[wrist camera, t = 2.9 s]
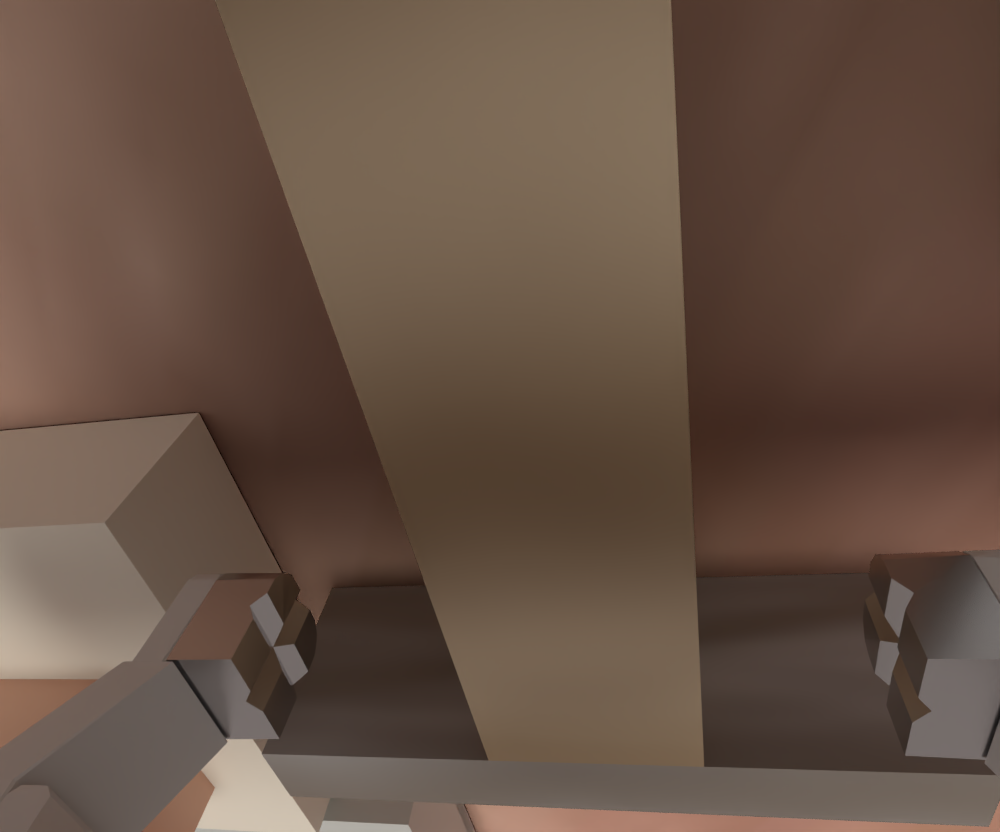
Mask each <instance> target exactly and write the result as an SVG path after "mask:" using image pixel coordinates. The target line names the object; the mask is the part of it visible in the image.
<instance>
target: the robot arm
mask: <svg viewBox="0 0 1000 832" xmlns="http://www.w3.org/2000/svg"><path fill="white" fill-rule="evenodd" d="M868 576H869V579H870V581H871V584H872V586H873V589H874V591H875V592H874V593H873V594H871V595H870V596H869V597H868V598H867V599H865V602H864V612H863V627H864V639H865V643H866V647H867V651H868V655H869V658H870V661H871V664H872V667H873V670H874V673H875V674H876V675H877V676H878V677H880V678H881V679H882V680H883V681H884V682H886V683H887V684H888V685H889V686H890V687H889V693H888V698H887V704H886V706H887V709H888V711H889V714H890V717H891V719H892V722H893V725H894V727H895V730H896V733H897V735H898V738H899V741H900V744H901V746H902V749H903V752H904V754H905V756H922V757H941V758H960V759H980V760H985V763H984V764H985V765H987V766H988V767H989V768H990V769H991V770H992V771H993V772H994V773H995V774H996V775H997V776H998V777H999V778H1000V550H977V551H963V552H960V551H949V552H924V553H899V554H875V555H874V557H873V559H872V560H871V563H870V569H869V575H868ZM299 591H300V589H299V587H298V585H297V583H296V582H295V580H294V578H293V576H292V575H291V574H285V573H226V574H197V575H195V576H194V577H192V578H191V579H189V580H188V581H187V582H186V584H185V585H184V586H183V588H182V589H181V591H180V592H179V594H178V595H177V597H176V598H175V600H174V601H173V603H172V604H171V605H170V607H169V608H168V610H167V611H166V613H165V614H164V616H163V617H162V619H161V620H160V622H159V623H158V624H157V626H156V627H155V629H154V630H153V632H152V633H151V635H150V636H149V638H148V639H147V641H146V642H145V643H144V645H143V646H142V648H141V649H140V651H139V652H138V654H137V655H136V657H135V658H134V660H133V661H124V662H122V663H120V664H119V665H118V666H116V667H115V668H113V669H112V670H111V671H109V672H108V673H106V674H105V675H104V676H102V677H101V678H99V679H98V680H96V681H95V682H94V683H92V684H91V685H89V686H88V687H87V688H85V689H84V690H82V691H81V692H79V693H78V694H77V695H75V696H74V697H72V698H71V699H70V700H68V701H67V702H65V703H64V704H62V705H61V706H60V707H58V708H57V709H55V710H54V711H53V712H51V713H50V714H48V715H47V716H45V717H44V718H43V719H41V720H40V721H38V722H37V723H36V724H34V725H33V726H31V727H30V728H28V729H27V730H26V731H24V732H23V733H21V734H20V735H19V736H17V737H16V738H14V739H13V740H12V741H10V742H9V743H7V744H6V745H4V746H3V747H2V748H0V832H142V831H143V830H144V828H145V827H146V826H147V825H148V824H149V823H150V822H151V821H152V820H153V819H154V818H155V817H156V816H157V815H158V814H159V813H160V812H161V811H162V810H163V809H164V808H165V807H166V806H167V805H168V804H169V803H170V802H171V801H172V800H173V798H174V797H175V796H176V795H177V794H178V793H179V792H180V791H181V790H182V789H183V788H184V787H185V786H186V785H187V784H188V783H189V782H190V781H191V780H192V779H193V778H194V777H195V776H196V775H197V774H198V773H199V772H200V771H201V769H202V768H203V767H204V766H205V765H206V764H207V763H208V762H209V761H210V760H211V759H212V758H213V757H214V756H215V755H216V754H217V753H218V752H219V751H220V750H221V749H222V748H223V747H224V746H225V745H226V744H227V740H226V739H280V737H281V734H282V732H283V730H284V727H285V725H286V723H287V720H288V718H289V716H290V713H291V711H292V709H293V706H294V704H295V702H296V699H297V696H296V692H295V689H294V685H293V684H295V683H296V682H297V681H298V680H299V679H300V678H301V677H303V676H304V675H305V674H306V673H307V672H308V671H309V668H310V666H311V663H312V661H313V658H314V656H315V650H316V642H317V631H316V625H315V620H314V618H313V616H312V614H311V612H310V610H309V609H308V608H306V607H305V606H304V605H302V604H301V603H299V602H298V601H297V600H296V598H297V596H298V593H299Z"/></svg>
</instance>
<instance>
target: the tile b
mask: <svg viewBox="0 0 1000 832" xmlns="http://www.w3.org/2000/svg"><path fill="white" fill-rule="evenodd" d="M96 680H98V679H0V748H2V747H3V746H4V745H6V744H7V743H9V742H10V741H12V740H13V739H14V738H16V737H17V736H19V735H20V734H21V733H23V732H24V731H26V730H27V729H28V728H30V727H31V726H33V725H34V724H36V723H37V722H38V721H40V720H41V719H43V718H44V717H45V716H47V715H48V714H50V713H51V712H53V711H54V710H55V709H57V708H58V707H60V706H61V705H62V704H64V703H65V702H67V701H68V700H70V699H71V698H72V697H74V696H75V695H77V694H78V693H79V692H81V691H82V690H84V689H85V688H87V687H88V686H89V685H91V684H92V683H94V682H95V681H96ZM214 789H215V787H214V786H213V785H212V783H211V782H210V781H209V780H208V778H207V777H206V776H205V775H204V773H203V772H202V771H200V772H199V773H198V774H197V775H196V776H195V777H194V778H193V779H192V780H191V781H190V782H189V783H188V784H187V785H186V786H185V787H184V788H183V789H182V790H181V791H180V792H179V793H178V794H177V795H176V796H175V797H174V798H173V800H172V801H171V802H170V803H169V804H168V805H167V806H166V807H165V808H164V809H163V810H162V811H161V812H160V813H159V814H158V815H157V816H156V817H155V818H154V819H153V820H152V821H151V822H150V823H149V824H148V825H147V826H146V827H145V828H144V830H143V831H142V832H195V830H196V828H197V826H198V823H199V821H200V819H201V817H202V815H203V813H204V810H205V808H206V806H207V804H208V802H209V800H210V797H211V795H212V793H213V791H214Z"/></svg>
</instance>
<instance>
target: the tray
mask: <svg viewBox="0 0 1000 832" xmlns="http://www.w3.org/2000/svg"><path fill="white" fill-rule="evenodd" d="M195 832H255V831H237V830H219V829H201V828H196V830H195ZM319 832H475V830H474V827H473V825H472V822H471V820H470V818H469V815H468V813H467V811H466V808H465V806H464V804H455V803H431V802H408V801H385V800H362V799H339V798H330V800H329V803H328V806H327V809H326V812H325V816H324V819H323V822H322V825H321V828H320V831H319Z"/></svg>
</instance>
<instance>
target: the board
mask: <svg viewBox="0 0 1000 832" xmlns="http://www.w3.org/2000/svg"><path fill="white" fill-rule="evenodd" d="M226 573H282V572H281V570H280V568H279V566H278V564H277V562H276V560H275V558H274V557H273V555H272V553H271V551H270V549H269V547H268V545H267V543H266V541H265V539H264V537H263V535H262V533H261V531H260V530H259V528H258V526H257V524H256V522H255V520H254V518H253V516H252V514H251V512H250V510H249V508H248V506H247V505H246V503H245V501H244V499H243V497H242V495H241V493H240V491H239V489H238V487H237V485H236V483H235V481H234V480H233V478H232V476H231V474H230V472H229V470H228V468H227V466H226V464H225V462H224V460H223V458H222V456H221V455H220V453H219V451H218V449H217V447H216V445H215V443H214V441H213V439H212V437H211V435H210V433H209V431H208V430H207V428H206V426H205V424H204V422H203V420H202V418H201V416H200V414H199V413H191V414H180V415H169V416H158V417H147V418H136V419H125V420H114V421H103V422H93V423H82V424H71V425H60V426H49V427H38V428H27V429H16V430H5V431H0V679H99V678H101V677H102V676H104V675H105V674H106V673H108V672H109V671H111V670H112V669H113V668H115V667H116V666H118V665H119V664H120V663H122V662H124V661H133V660H134V658H135V657H136V655H137V654H138V652H139V651H140V649H141V648H142V646H143V645H144V643H145V642H146V641H147V639H148V638H149V636H150V635H151V633H152V632H153V630H154V629H155V627H156V626H157V624H158V623H159V622H160V620H161V619H162V617H163V616H164V614H165V613H166V611H167V610H168V608H169V607H170V605H171V604H172V603H173V601H174V600H175V598H176V597H177V595H178V594H179V592H180V591H181V589H182V588H183V586H184V585H185V584H186V582H187V581H188V580H189V579H191V578H192V577H194V576H195V575H197V574H226ZM226 740H227V744H226V745H225V746H224V747H223V748H222V749H221V750H220V751H219V752H218V753H217V754H216V755H215V756H214V757H213V758H212V759H211V760H210V761H209V762H208V763H207V764H206V765H205V766H204V767H203V768H202V769H201V771H202V772H203V773H204V775H205V776H206V777H207V778H208V780H209V781H210V782H211V783H212V785H213V786H214V787H215V789H214V791H213V793H212V795H211V797H210V800H209V802H208V804H207V806H206V808H205V810H204V813H203V815H202V817H201V819H200V821H199V823H198V826H197V828H201V829H219V830H237V831H255V832H319V831H320V828H321V825H322V822H323V819H324V816H325V812H326V809H327V806H328V803H329V800H330V798H316V797H293V796H290V795H289V793H288V792H287V790H286V789H285V787H284V786H283V785H282V783H281V782H280V780H279V779H278V777H277V776H276V774H275V773H274V771H273V770H272V769H271V767H270V766H269V764H268V763H267V761H266V760H265V758H264V757H263V755H262V752H263V749H264V747H265V745H266V742H267V740H268V739H226Z"/></svg>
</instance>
